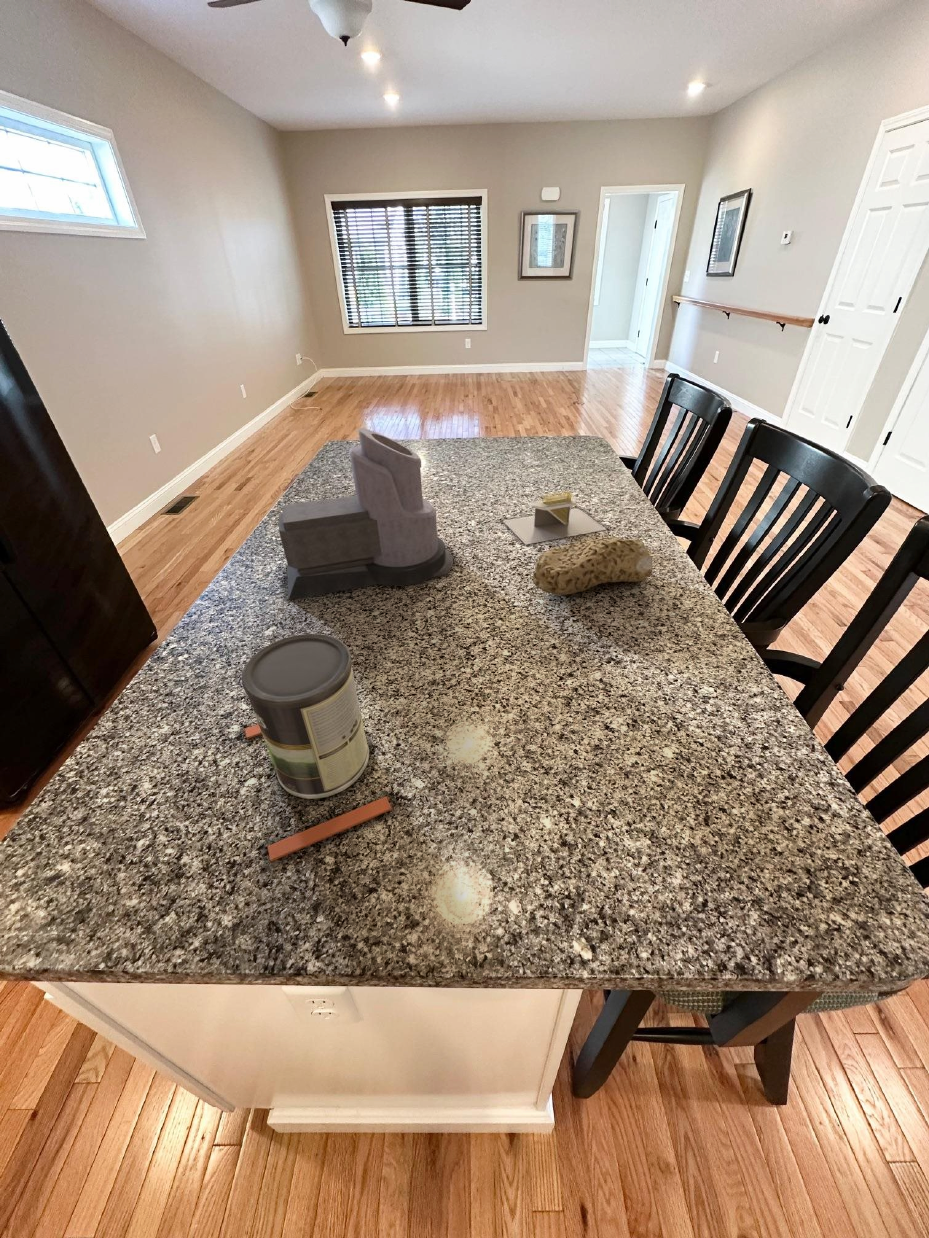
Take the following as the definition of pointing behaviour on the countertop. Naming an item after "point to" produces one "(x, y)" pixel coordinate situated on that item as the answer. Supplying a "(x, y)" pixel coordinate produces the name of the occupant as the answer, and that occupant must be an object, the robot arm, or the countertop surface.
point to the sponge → (591, 565)
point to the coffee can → (308, 713)
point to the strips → (325, 828)
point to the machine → (365, 527)
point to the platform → (553, 520)
